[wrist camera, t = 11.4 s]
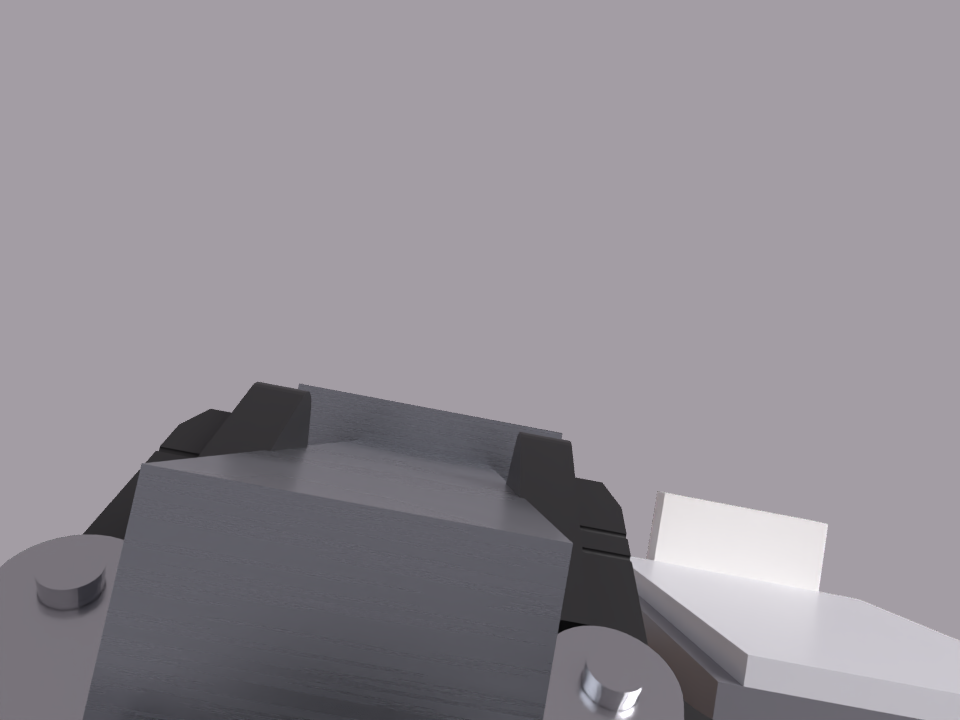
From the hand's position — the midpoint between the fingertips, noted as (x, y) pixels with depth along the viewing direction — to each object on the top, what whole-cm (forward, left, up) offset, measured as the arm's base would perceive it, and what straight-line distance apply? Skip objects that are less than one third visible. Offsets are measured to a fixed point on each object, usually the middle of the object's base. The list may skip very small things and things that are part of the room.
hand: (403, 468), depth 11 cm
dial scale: (-12, -10, -5) cm, 16 cm away
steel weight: (0, -4, -3) cm, 5 cm away
